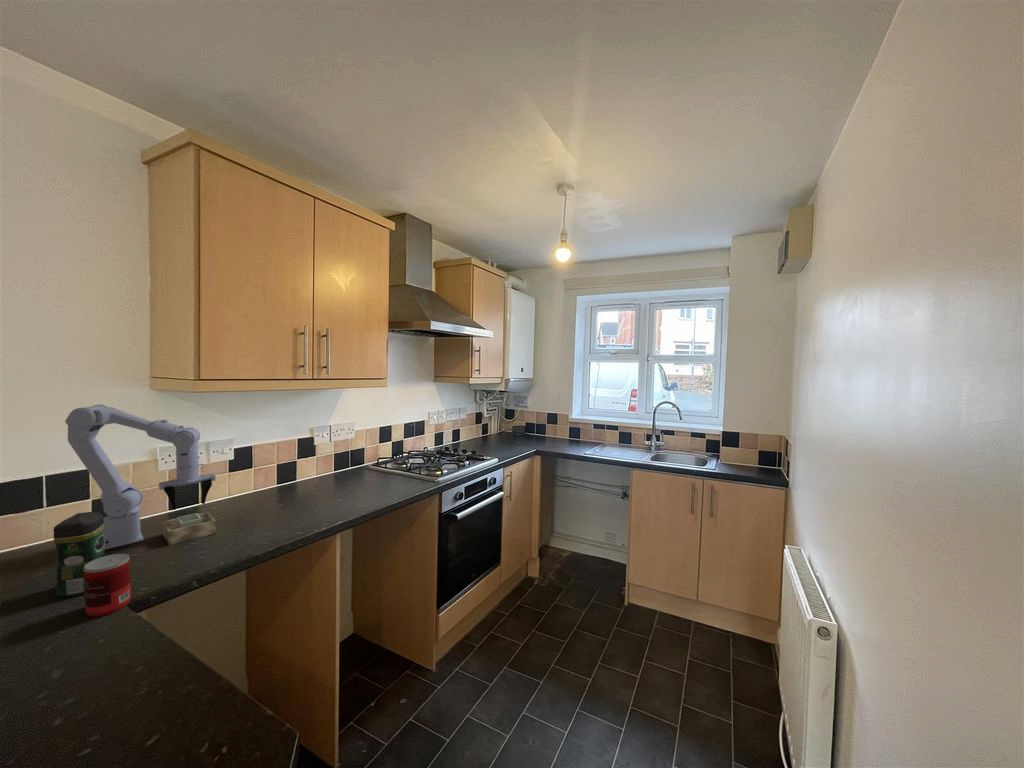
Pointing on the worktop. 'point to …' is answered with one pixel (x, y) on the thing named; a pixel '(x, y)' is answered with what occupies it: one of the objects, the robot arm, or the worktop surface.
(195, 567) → the worktop surface
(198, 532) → the box
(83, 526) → the coffee jar
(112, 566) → the canned food
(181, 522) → the box
